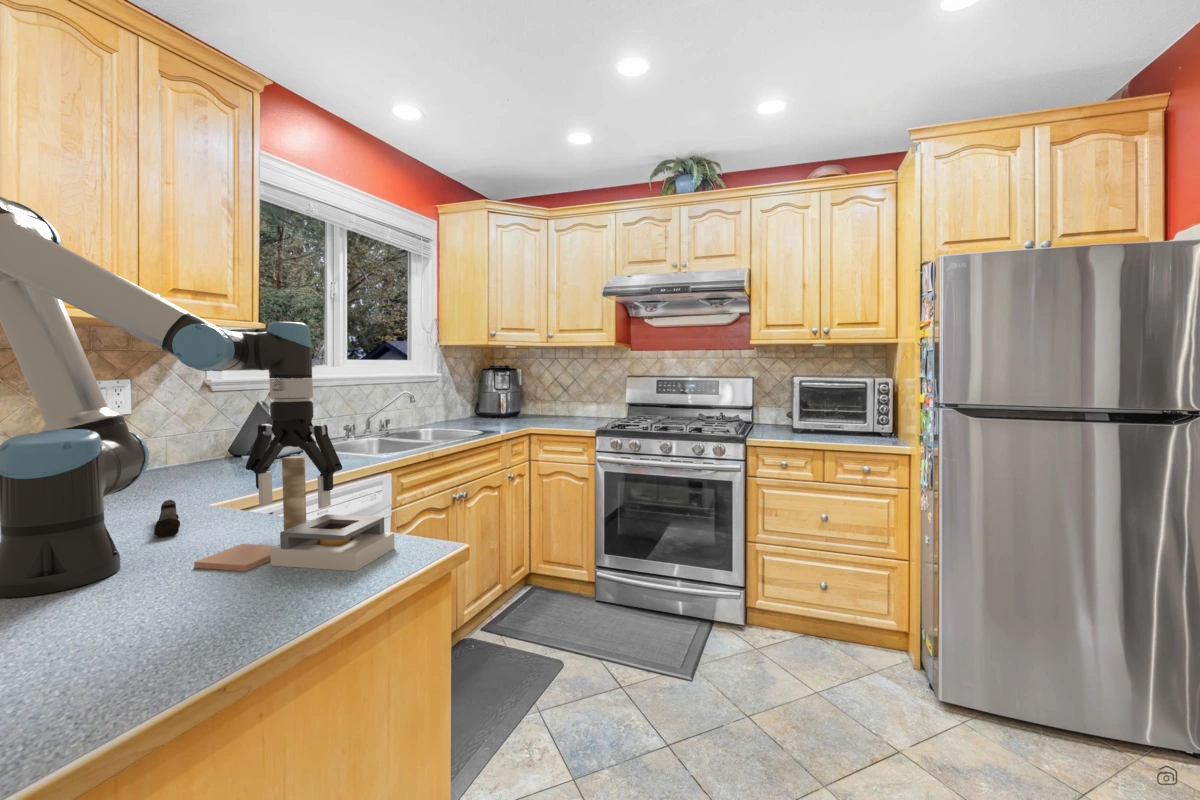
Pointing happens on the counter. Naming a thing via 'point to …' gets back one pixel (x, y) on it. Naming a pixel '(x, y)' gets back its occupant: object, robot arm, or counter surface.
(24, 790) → the counter surface
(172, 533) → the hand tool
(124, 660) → the counter surface
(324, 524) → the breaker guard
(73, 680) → the counter surface
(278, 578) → the counter surface
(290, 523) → the wooden cylinder
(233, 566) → the rest tile
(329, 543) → the button
